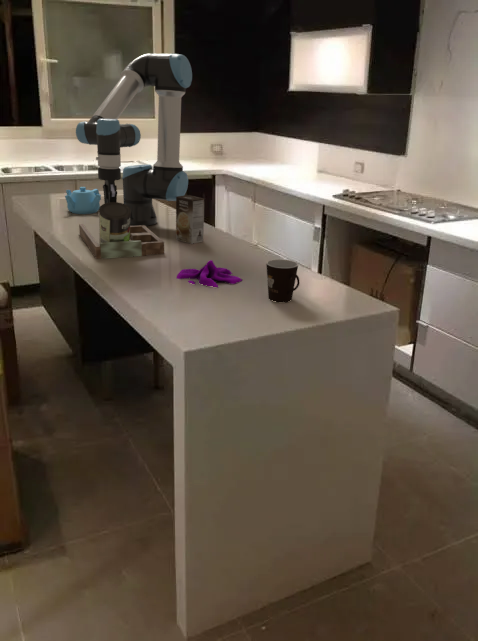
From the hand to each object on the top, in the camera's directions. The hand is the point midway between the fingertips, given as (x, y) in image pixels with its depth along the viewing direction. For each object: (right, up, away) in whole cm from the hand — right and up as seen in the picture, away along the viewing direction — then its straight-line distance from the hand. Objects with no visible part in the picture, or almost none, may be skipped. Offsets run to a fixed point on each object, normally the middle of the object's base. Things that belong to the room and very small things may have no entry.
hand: (111, 236), depth 216 cm
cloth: (+36, -18, -30) cm, 50 cm away
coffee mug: (+56, -24, -47) cm, 77 cm away
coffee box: (+26, 0, +14) cm, 30 cm away
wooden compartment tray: (+2, -2, +5) cm, 6 cm away
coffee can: (+2, -4, -4) cm, 6 cm away
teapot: (-24, +19, +58) cm, 65 cm away
